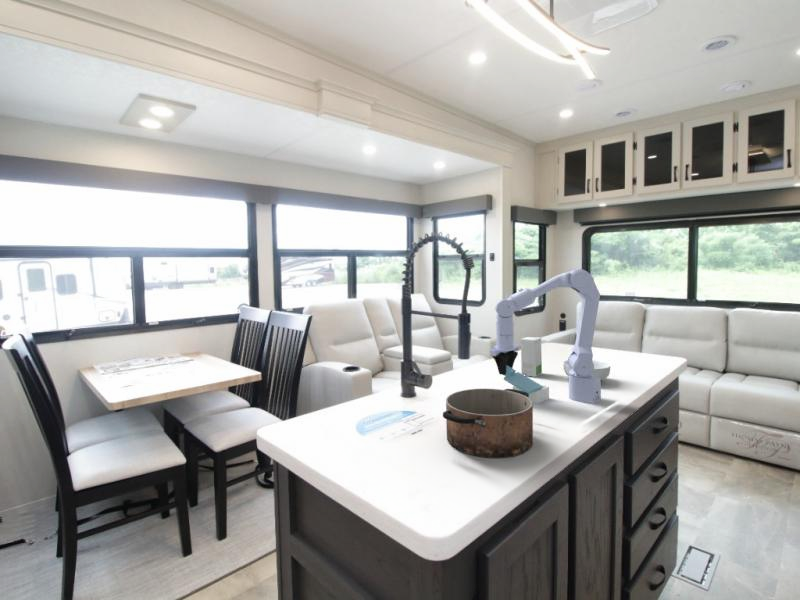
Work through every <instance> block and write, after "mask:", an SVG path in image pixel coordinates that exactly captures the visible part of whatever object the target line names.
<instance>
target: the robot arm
mask: <svg viewBox="0 0 800 600" xmlns="http://www.w3.org/2000/svg"><path fill="white" fill-rule="evenodd" d="M558 288H571V289H572V290H573V291H575V292H576V293H577V294H578V295H579V296H580V297H581V299H582V300H581V306H580V312H579V319H578V324H577V330H576V331H577V332H576V338H575V342H574V345H573V347H572V350H571V352H570V355H569V356H568V357H567V360H568V365H569V366H570V368H571V370H570V371H569V376H568V399H569V400H571V401H574V402H579V403H580V402H582V403H586V404H591V405H595V404H596V403H598V402H600V401H601V397H602V383H601V381H602V380H601V381H600V379H599V378H597V377H594V376H592V372H593V370H594V364H593V361H594V360H593V358H594V357H593V350H592V348H593V347H592V346H593V340H594V334H595V328H596V322H597V317H598V311H599V304H600V299H601V294H600V292H599V289H598V287H597V284H596V282H595V279H594V277H593V275H592V274H590V273H589V272H588V271H586V270H585V269H581V268H580V269H575V268H574V269H570V270H568V271H565V272H563V273H560V274H558V275H555V276H553V277H552V278H549V279H548V280H546V281H544V282H542V283H540V284H539V285H537V286H535V287H533V288H532V289H531V288H528V287H525V288H522V287H520V288H519V289H518V291H517V292H515V293H513V294H511V295H506V296H505V299H500V300H498V302H497V303H496V305H495V308H494V309H495V312H496V313H497V314H496V322H495V323H496V324H495V326H496V327H495V328H496V329H495V332H496V336H495V337H496V338H495V339H496V345H494V346H493V348H492V349H489V355H490V356H491V357H492V358H493V360H494V362H495V364H496V367H497V371H498V374H499V375H501V376H504V375H505V374H506V365H507V366H509V367H511V368H512V369H514V368H513V367H514V364H515V362H516V361H515V360H516V358H517V356H518V354H519V352H518V351H519V350H520V344H518V343H514V342H515V341H514V340H515V339H514V318H513V315H514V313H515V312H518V311H520V310H523V309H524V308H527V307H528V306H531V305H533V304H534V303H535V300H536V298H539V297H540V296H543V295H544V294H547V293H549V292H551V291H554V290H556V289H558ZM592 360H593V361H592Z"/></svg>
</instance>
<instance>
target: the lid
mask: <svg viewBox="0 0 800 600" xmlns="http://www.w3.org/2000/svg"><path fill="white" fill-rule="evenodd" d="M503 376H504V377H503V380H504V381H505V382H507V383H509V384H510V385H512V387H513V386H515V387H517V388H518V389H520V390H522V391H524V392H527V393H528V394H530V393H532V392H535V391H537V390H539V389H542V385H543V384H541V383H538V382H536V381H534V380H533V379H531V378H530V377H529V376H524V375H523V374H521V372H519V371H518V372H517V371H516V369H515V368H511V367H509V366H507V365H506V374H505V375H503Z"/></svg>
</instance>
